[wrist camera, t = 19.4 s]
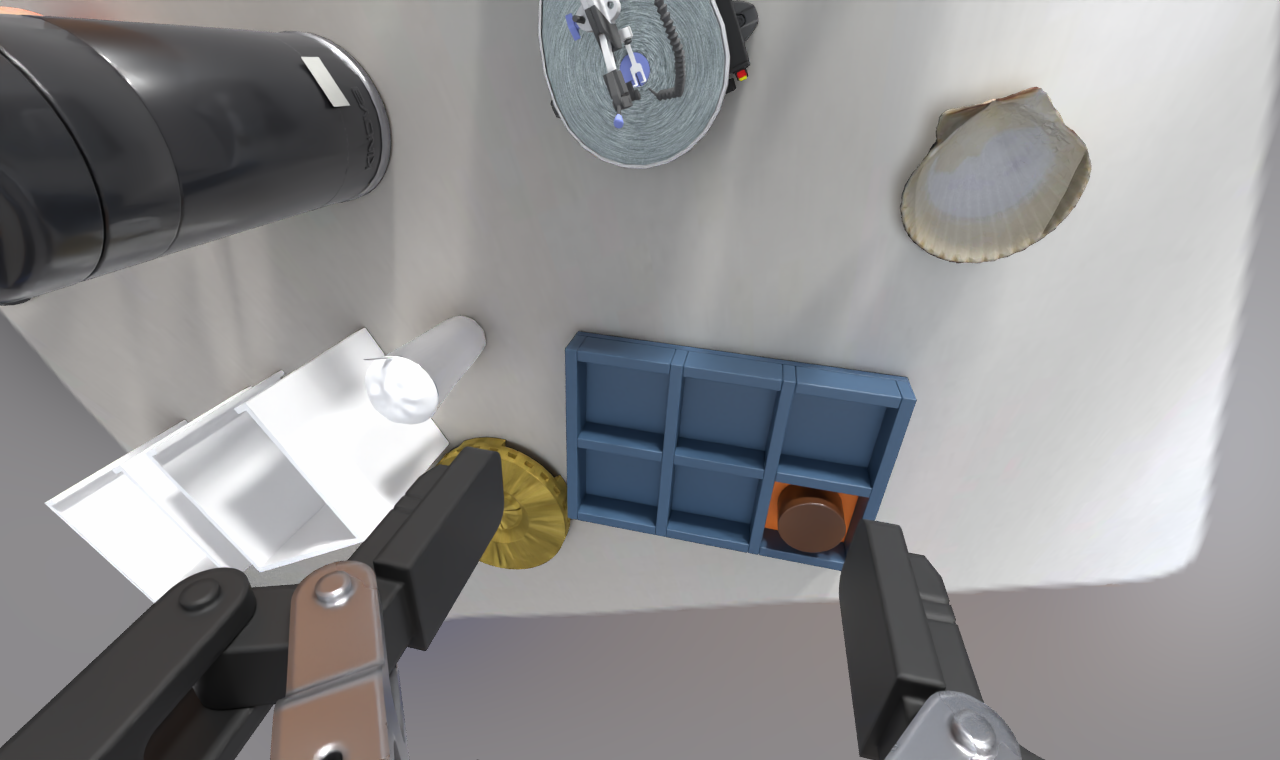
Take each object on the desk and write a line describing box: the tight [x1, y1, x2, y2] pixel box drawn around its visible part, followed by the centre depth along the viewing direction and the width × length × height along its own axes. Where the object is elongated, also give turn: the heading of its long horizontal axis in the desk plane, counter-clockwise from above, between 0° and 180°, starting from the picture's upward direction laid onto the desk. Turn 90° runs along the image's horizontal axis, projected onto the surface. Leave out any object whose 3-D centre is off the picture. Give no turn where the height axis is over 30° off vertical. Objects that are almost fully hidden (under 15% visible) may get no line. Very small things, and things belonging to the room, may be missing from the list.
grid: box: [565, 331, 917, 571], centre depth 39 cm, size 21×14×3 cm
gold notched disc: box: [435, 437, 571, 569], centre depth 46 cm, size 12×12×2 cm
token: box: [778, 484, 846, 553], centre depth 39 cm, size 4×4×2 cm
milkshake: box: [364, 315, 486, 424], centre depth 36 cm, size 5×5×10 cm
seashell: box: [900, 87, 1091, 263], centre depth 28 cm, size 8×3×8 cm
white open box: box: [45, 327, 449, 603], centre depth 44 cm, size 25×11×11 cm, turn 118°
